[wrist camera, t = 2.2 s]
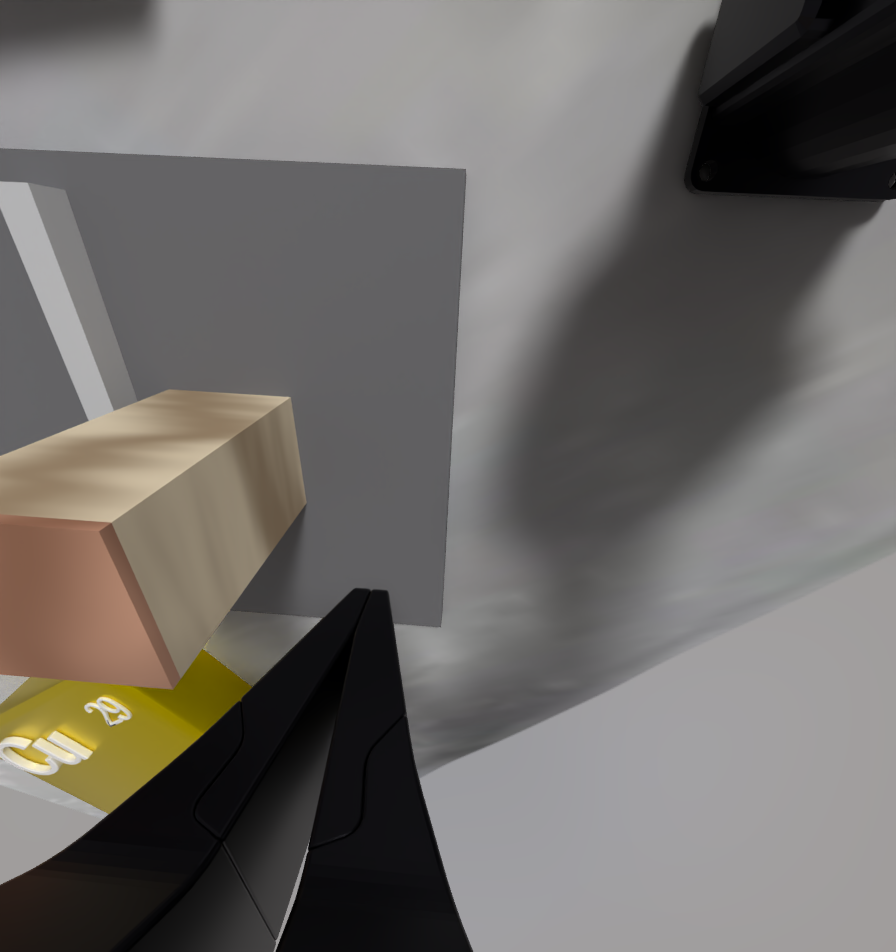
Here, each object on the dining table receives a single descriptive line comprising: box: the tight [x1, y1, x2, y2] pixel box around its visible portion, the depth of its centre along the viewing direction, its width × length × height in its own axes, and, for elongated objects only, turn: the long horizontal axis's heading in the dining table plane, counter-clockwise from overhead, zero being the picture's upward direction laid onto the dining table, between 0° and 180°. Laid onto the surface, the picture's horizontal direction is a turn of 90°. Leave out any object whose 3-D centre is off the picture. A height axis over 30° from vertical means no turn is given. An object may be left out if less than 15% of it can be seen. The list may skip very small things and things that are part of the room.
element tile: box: [0, 649, 252, 814], centre depth 26 cm, size 15×15×5 cm
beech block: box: [0, 389, 307, 689], centre depth 13 cm, size 5×5×9 cm
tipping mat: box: [0, 148, 466, 627], centre depth 17 cm, size 24×20×2 cm
